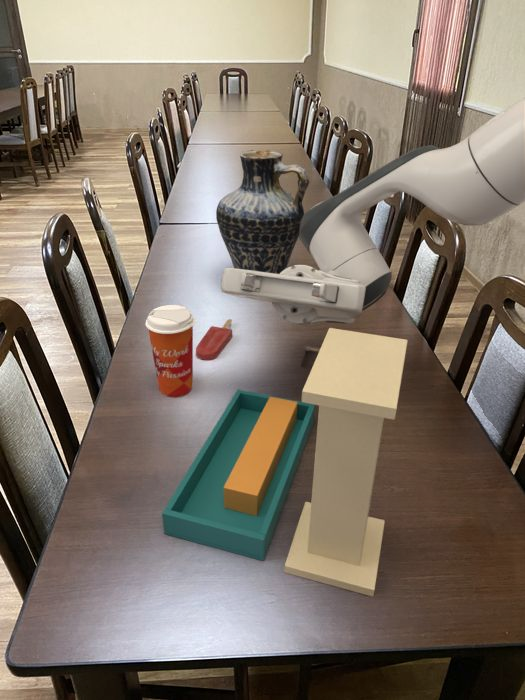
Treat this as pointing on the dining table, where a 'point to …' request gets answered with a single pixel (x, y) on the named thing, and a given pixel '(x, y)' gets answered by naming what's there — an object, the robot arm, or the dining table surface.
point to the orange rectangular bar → (260, 457)
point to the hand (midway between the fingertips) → (281, 284)
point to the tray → (213, 472)
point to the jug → (262, 214)
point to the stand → (346, 458)
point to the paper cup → (172, 348)
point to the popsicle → (214, 341)
